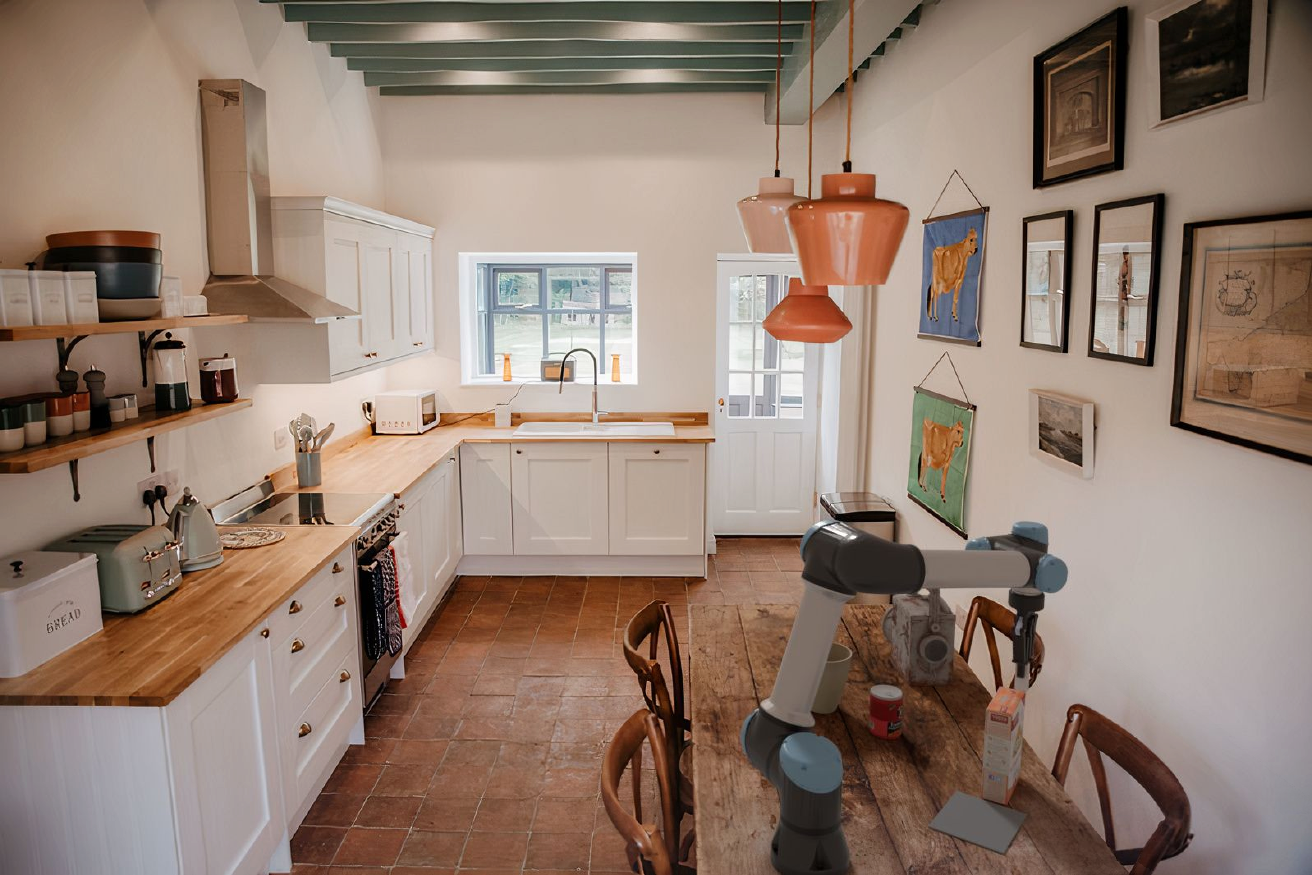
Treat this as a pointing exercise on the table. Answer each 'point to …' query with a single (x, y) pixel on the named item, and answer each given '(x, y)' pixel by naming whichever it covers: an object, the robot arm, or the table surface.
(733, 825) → the table surface
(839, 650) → the plant pot
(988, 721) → the cracker box
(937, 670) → the lantern
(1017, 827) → the mat
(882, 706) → the canned food
